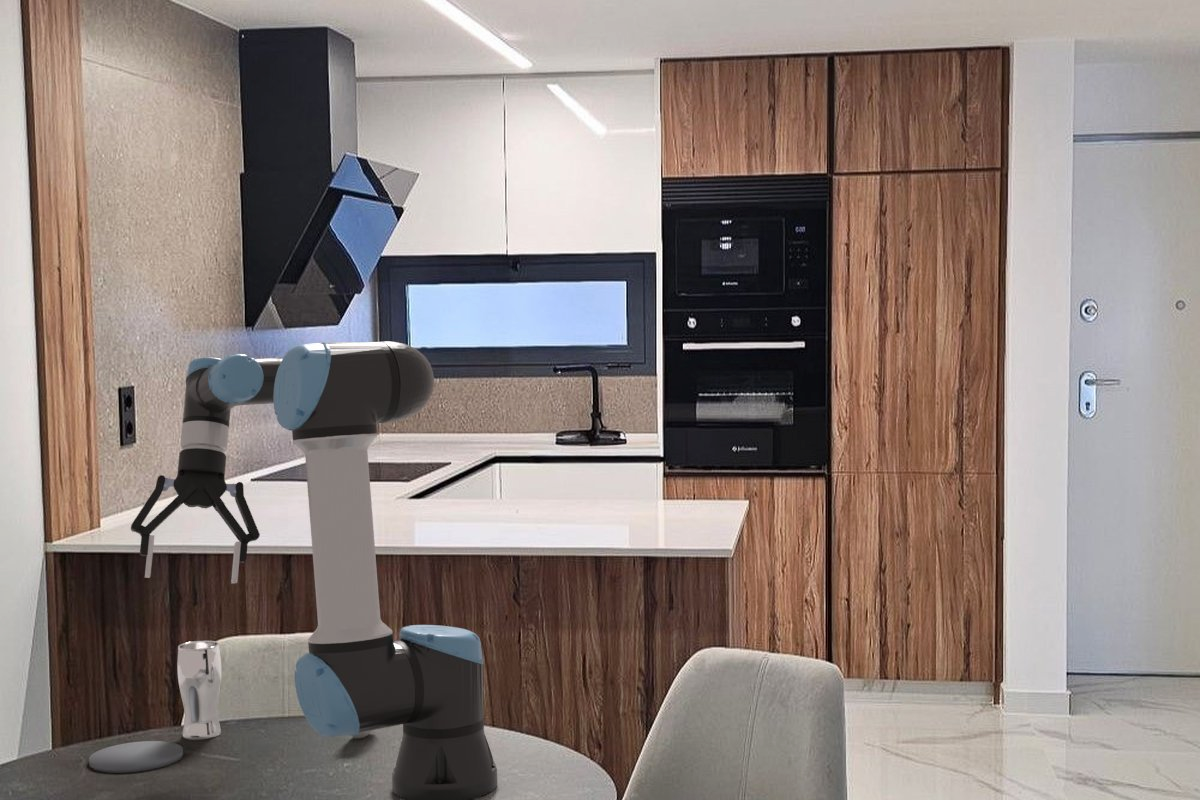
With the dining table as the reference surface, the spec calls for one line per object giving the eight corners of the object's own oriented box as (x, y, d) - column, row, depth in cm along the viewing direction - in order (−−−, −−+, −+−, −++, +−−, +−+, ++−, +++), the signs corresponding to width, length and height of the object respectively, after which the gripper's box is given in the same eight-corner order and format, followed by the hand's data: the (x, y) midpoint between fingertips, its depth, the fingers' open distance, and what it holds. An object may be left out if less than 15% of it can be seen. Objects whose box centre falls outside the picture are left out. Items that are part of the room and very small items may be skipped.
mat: (200, 757, 228) (200, 752, 228) (117, 778, 218) (117, 773, 218) (154, 740, 238) (153, 736, 238) (72, 760, 228) (72, 755, 228)
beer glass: (212, 741, 237) (209, 649, 236) (172, 740, 238) (168, 649, 237) (230, 729, 244) (227, 640, 243) (191, 728, 245) (188, 639, 244)
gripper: (276, 462, 249) (266, 587, 244) (123, 448, 241) (109, 577, 236) (282, 454, 242) (272, 581, 237) (125, 439, 234) (111, 571, 229)
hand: (191, 579), depth 236 cm, fingers open, 13 cm apart
